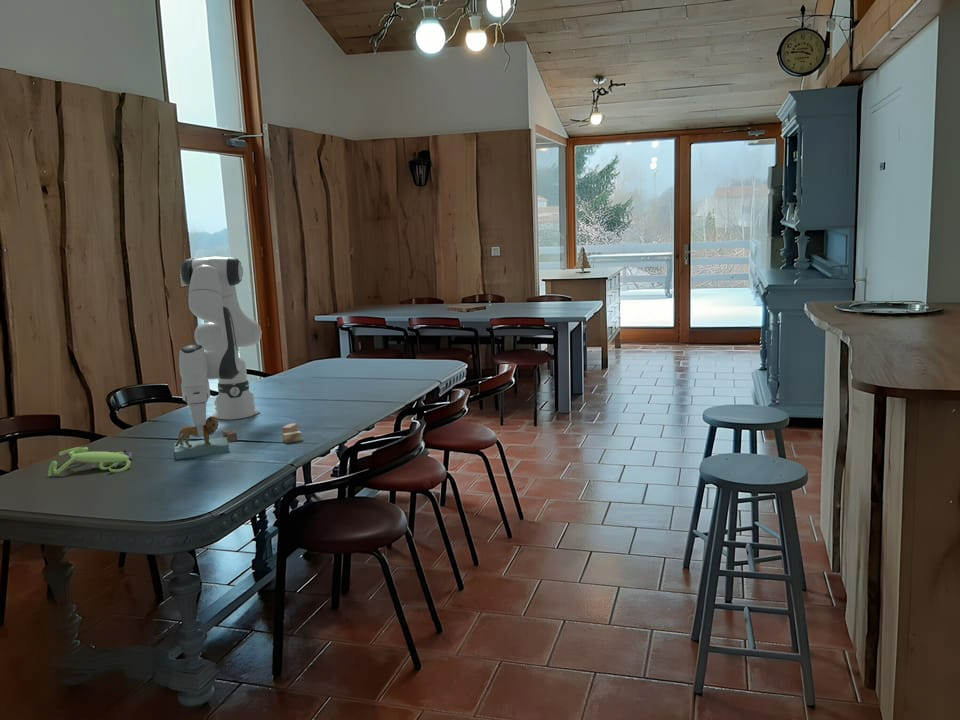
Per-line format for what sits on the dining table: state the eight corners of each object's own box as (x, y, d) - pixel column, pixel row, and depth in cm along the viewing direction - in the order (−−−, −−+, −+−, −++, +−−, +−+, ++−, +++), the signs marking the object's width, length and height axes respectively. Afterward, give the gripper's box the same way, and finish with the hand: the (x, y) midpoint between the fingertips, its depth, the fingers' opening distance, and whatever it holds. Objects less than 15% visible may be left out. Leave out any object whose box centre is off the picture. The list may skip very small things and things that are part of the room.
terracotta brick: (290, 431, 290) (290, 423, 289) (298, 431, 289) (297, 423, 289) (282, 435, 284) (282, 427, 284) (290, 435, 283) (289, 427, 283)
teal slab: (175, 450, 269) (174, 443, 269) (227, 443, 275) (226, 436, 275) (175, 459, 258) (174, 452, 258) (229, 452, 264) (228, 444, 264)
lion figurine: (218, 438, 272) (216, 413, 270) (221, 442, 267) (219, 417, 265) (173, 446, 265) (170, 420, 263) (176, 450, 260) (173, 424, 258)
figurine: (67, 461, 263) (64, 445, 262) (147, 457, 264) (145, 441, 263) (38, 478, 245) (35, 461, 244) (124, 473, 246) (122, 456, 245)
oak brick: (285, 443, 273) (285, 435, 272) (283, 441, 275) (282, 433, 275) (302, 440, 276) (301, 432, 275) (299, 438, 278) (299, 430, 278)
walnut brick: (223, 439, 283) (222, 431, 282) (231, 437, 284) (230, 429, 284) (229, 442, 278) (228, 434, 277) (237, 440, 280) (236, 432, 279)
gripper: (185, 389, 272) (189, 428, 274) (186, 400, 253) (191, 441, 255) (204, 387, 274) (208, 425, 276) (207, 397, 255) (211, 438, 257)
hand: (200, 433), depth 266 cm, fingers open, 4 cm apart
